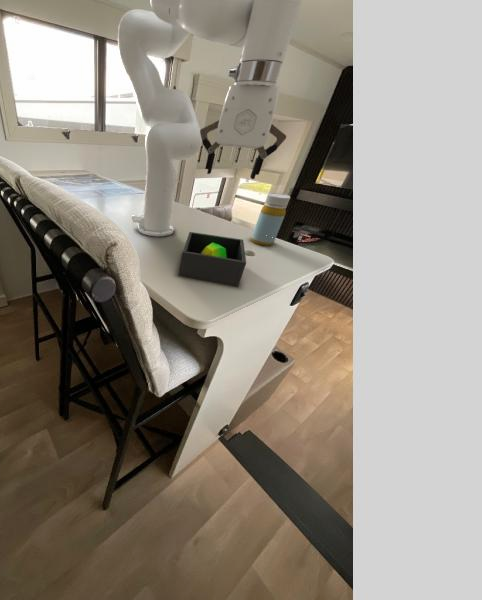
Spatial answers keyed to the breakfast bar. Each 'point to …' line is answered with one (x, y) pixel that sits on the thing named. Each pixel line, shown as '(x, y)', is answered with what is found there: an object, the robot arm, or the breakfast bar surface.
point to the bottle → (270, 219)
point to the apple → (215, 250)
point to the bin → (213, 259)
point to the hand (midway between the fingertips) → (230, 175)
